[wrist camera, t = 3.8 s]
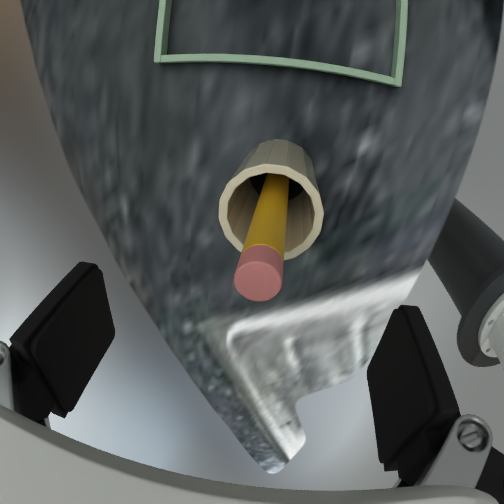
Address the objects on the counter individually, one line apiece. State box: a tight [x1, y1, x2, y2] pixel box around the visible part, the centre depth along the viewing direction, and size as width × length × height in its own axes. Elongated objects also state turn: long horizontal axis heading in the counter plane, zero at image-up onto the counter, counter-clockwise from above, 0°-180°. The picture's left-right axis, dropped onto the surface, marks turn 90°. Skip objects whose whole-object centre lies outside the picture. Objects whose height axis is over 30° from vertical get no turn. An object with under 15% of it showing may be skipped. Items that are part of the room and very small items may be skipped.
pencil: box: [234, 173, 289, 301], centre depth 19 cm, size 2×2×16 cm
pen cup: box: [219, 139, 324, 260], centre depth 22 cm, size 6×6×10 cm
